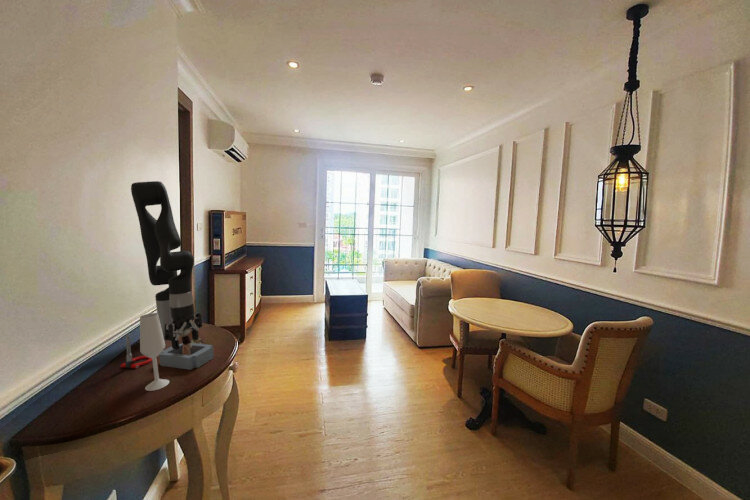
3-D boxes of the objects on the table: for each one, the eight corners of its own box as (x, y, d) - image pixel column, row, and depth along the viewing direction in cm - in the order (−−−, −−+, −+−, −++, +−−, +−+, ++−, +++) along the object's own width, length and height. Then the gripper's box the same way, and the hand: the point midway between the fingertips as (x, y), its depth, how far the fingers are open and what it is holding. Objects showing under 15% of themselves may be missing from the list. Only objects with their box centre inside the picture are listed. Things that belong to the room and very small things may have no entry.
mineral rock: (185, 338, 133) (203, 332, 134) (189, 347, 134) (207, 340, 135) (174, 350, 123) (194, 343, 124) (178, 359, 124) (198, 352, 125)
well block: (182, 352, 125) (181, 341, 124) (216, 356, 120) (215, 345, 120) (157, 365, 114) (156, 353, 114) (193, 370, 110) (192, 358, 109)
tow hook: (141, 357, 122) (118, 368, 113) (138, 326, 121) (115, 334, 112) (159, 358, 120) (137, 369, 111) (157, 327, 119) (135, 335, 110)
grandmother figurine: (177, 358, 118) (173, 327, 116) (187, 354, 121) (184, 324, 120) (188, 363, 114) (184, 331, 112) (198, 358, 117) (195, 327, 116)
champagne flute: (139, 390, 98) (130, 318, 95) (157, 378, 104) (149, 312, 101) (157, 391, 97) (149, 319, 94) (174, 379, 103) (166, 312, 100)
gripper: (189, 298, 122) (193, 336, 124) (156, 309, 109) (161, 351, 110) (204, 298, 120) (208, 337, 122) (172, 310, 107) (177, 353, 109)
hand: (186, 344), depth 116 cm, fingers open, 8 cm apart
